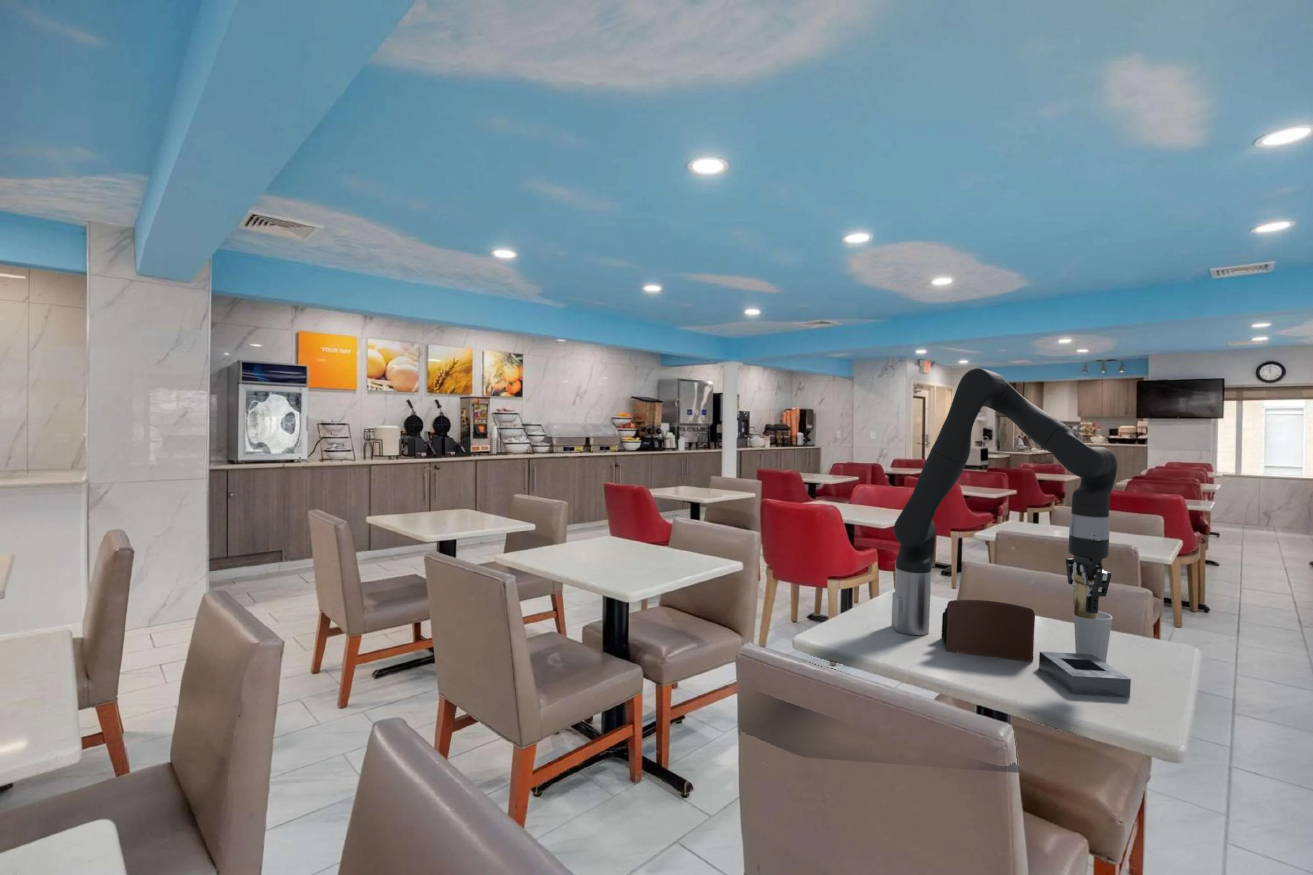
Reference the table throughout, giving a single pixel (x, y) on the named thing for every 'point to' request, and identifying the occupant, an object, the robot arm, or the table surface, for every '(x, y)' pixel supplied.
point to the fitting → (1081, 599)
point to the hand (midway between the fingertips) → (1085, 608)
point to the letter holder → (989, 629)
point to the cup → (1093, 635)
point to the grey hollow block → (1084, 674)
